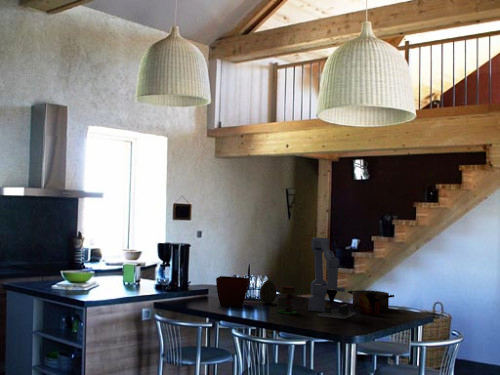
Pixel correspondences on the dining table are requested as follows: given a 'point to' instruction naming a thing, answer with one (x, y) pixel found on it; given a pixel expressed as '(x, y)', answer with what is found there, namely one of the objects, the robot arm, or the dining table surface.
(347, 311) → the breaker
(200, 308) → the dining table surface
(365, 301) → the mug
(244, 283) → the plant pot
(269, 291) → the decorative egg
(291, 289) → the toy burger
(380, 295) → the cooking pot
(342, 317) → the breaker panel
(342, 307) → the breaker
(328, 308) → the breaker
